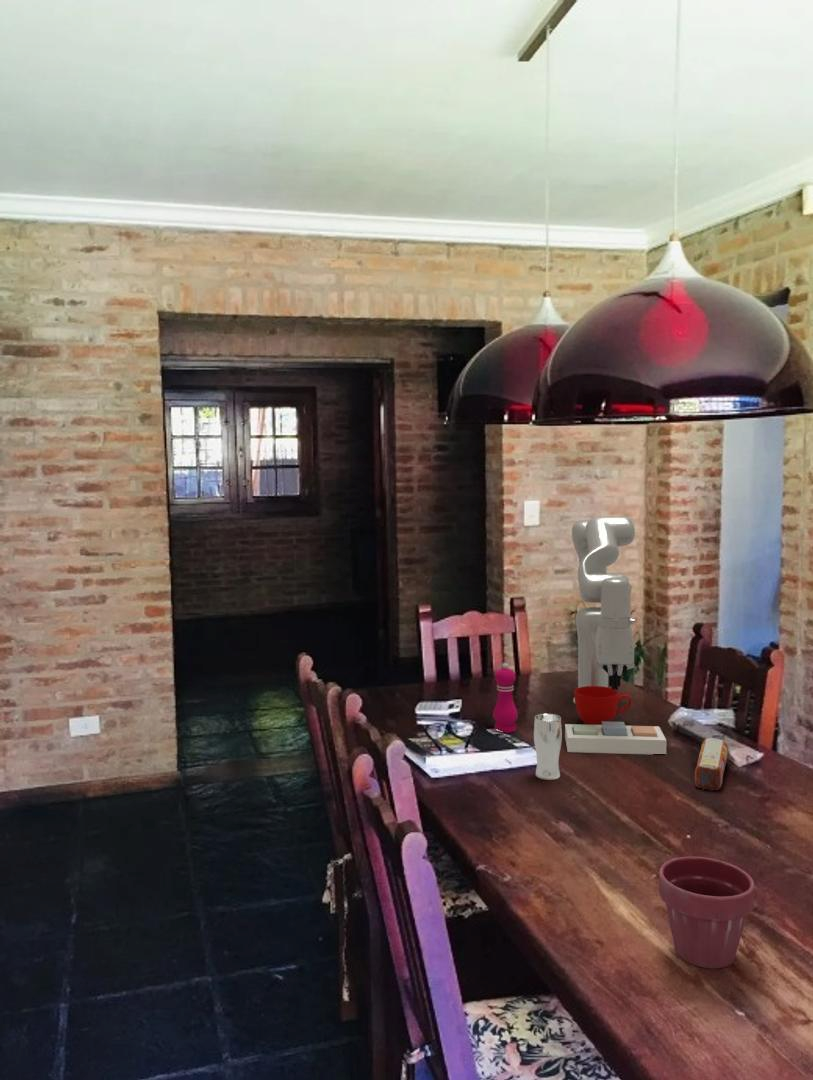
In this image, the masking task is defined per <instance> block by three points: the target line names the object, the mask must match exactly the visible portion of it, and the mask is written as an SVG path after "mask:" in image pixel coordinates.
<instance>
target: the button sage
mask: <svg viewBox="0 0 813 1080" xmlns="http://www.w3.org/2000/svg"><path fill="white" fill-rule="evenodd" d="M572 724H573V723H572ZM573 735H597V731H596V728H595V725H586V724H578V725H577V724H576V723H574V724H573Z"/></svg>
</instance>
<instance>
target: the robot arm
mask: <svg viewBox="0 0 813 1080" xmlns="http://www.w3.org/2000/svg"><path fill="white" fill-rule="evenodd" d="M635 536H636V529H635V525H634V522H633V521H632V519H631V518H630V517H628V516H624V515H623V516H621V515H615V516H613V515H612V516H610V515H607V516H605V515H603V516H595V517H591V518H590V519H586V520H580V521H576V522H575V523H573V525H572V528H571V537H572V539H571V540H572V544H573V546H574V549H575V551H576V555H577V557H578V567H577V582H578V588H579V595H580V598H581V600H582V601H583V602H584V603H585V602H586V603H589V604H590V603H591V604H600V606H588V607H587V606H586V607H583V608H580V609H579V610H578V611H577V612H576V614H575V626H576V627H575V629H576V634H577V647H578V648H577V653H578V654H577V658H578V661H577V670H578V672H577V674H578V675H577V682H578V683H577V685H578V686H577V688H580V687H584V686H602V687H610V688H611V689H612V690H617V691H619V687H621V676H622V675H623V674H624V673H625V672H626V671H627V670H631V669H635V667H636V666H635V645H634V644H635V643H634V636H633V630H632V625H635V623H636V621H635V618H632V602H631V601H632V599H631V595H632V581H631V579H630V578H629V577H628V576H627V575H626V574H623V573H608V572H607V567H609V566H611V565H612V564H614V563H615V562H616V561H617V560H618V558H619V556H620V549H619V547H625V546H628V545H631V544H632V543H633V541H634V539H635ZM614 665H616V671H615V673H614V671H613V666H614ZM572 702H573V704H575V696H574V697H573V699H572Z"/></svg>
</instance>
